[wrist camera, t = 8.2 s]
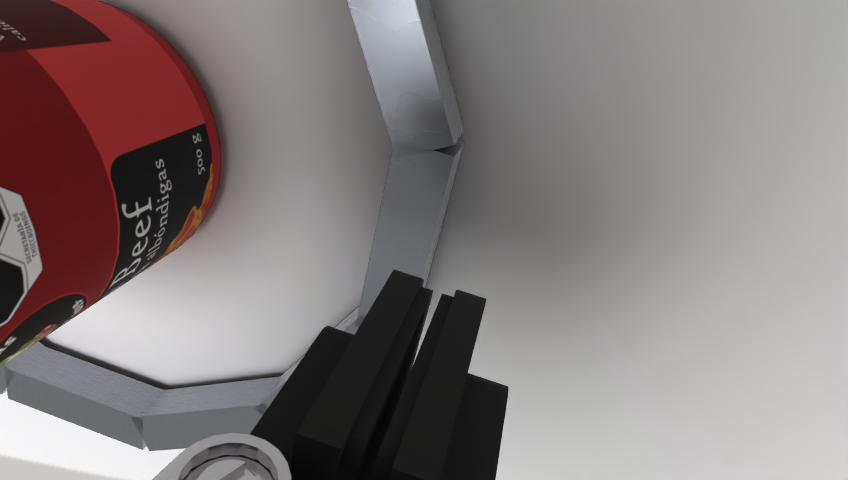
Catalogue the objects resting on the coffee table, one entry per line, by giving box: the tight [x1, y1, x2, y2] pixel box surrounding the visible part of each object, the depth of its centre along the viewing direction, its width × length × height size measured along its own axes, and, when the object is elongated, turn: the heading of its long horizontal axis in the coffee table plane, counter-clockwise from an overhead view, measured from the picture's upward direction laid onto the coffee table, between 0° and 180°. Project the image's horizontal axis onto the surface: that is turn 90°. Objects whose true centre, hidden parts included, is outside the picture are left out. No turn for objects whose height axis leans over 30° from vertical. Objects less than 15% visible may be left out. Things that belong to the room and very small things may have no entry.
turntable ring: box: [0, 0, 464, 451], centre depth 16 cm, size 22×22×3 cm
